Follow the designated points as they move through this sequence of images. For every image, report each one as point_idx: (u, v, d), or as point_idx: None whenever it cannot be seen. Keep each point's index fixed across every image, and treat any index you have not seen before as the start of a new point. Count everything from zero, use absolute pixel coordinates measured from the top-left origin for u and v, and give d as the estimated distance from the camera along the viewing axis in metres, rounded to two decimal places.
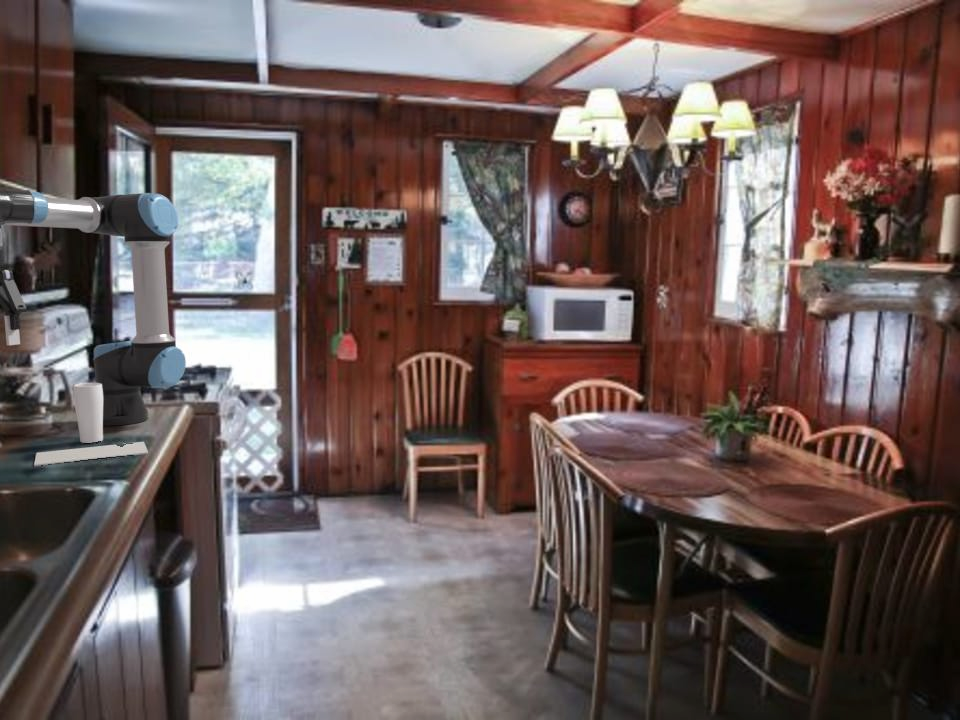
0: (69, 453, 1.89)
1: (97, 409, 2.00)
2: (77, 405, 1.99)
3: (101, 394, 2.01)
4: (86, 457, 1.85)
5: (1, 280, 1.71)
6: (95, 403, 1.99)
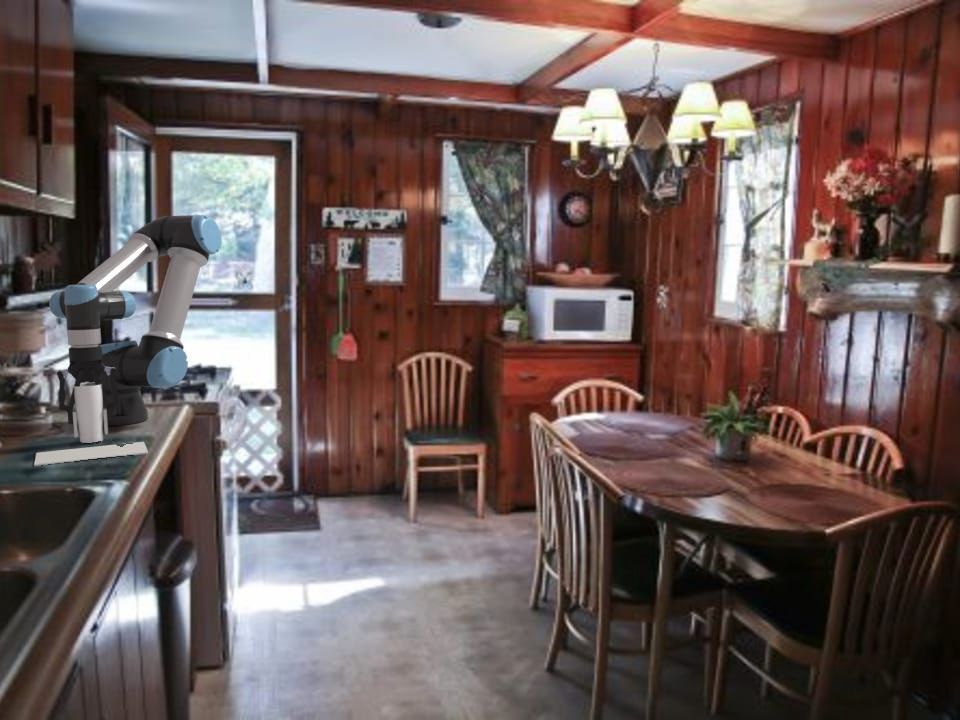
0: (69, 453, 1.89)
1: (97, 409, 2.00)
2: (77, 405, 1.99)
3: (101, 394, 2.01)
4: (86, 457, 1.85)
5: None
6: (95, 403, 1.99)
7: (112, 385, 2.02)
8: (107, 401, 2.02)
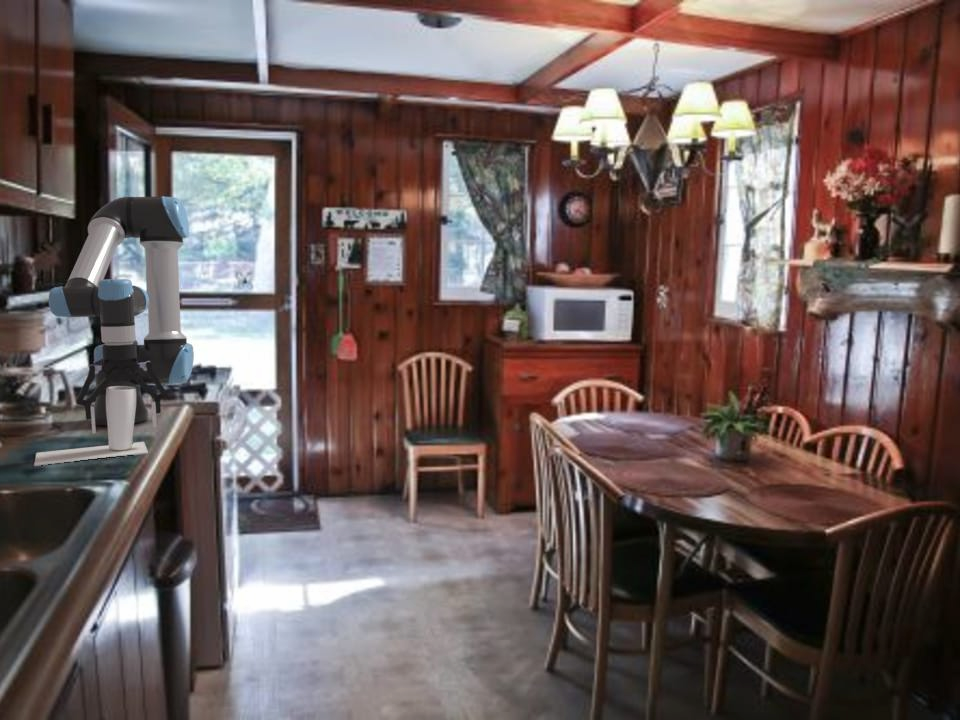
0: (69, 453, 1.89)
1: (129, 414, 1.90)
2: (109, 409, 1.89)
3: (134, 399, 1.92)
4: (86, 457, 1.85)
5: None
6: (128, 408, 1.90)
7: (154, 379, 1.93)
8: (154, 394, 1.94)
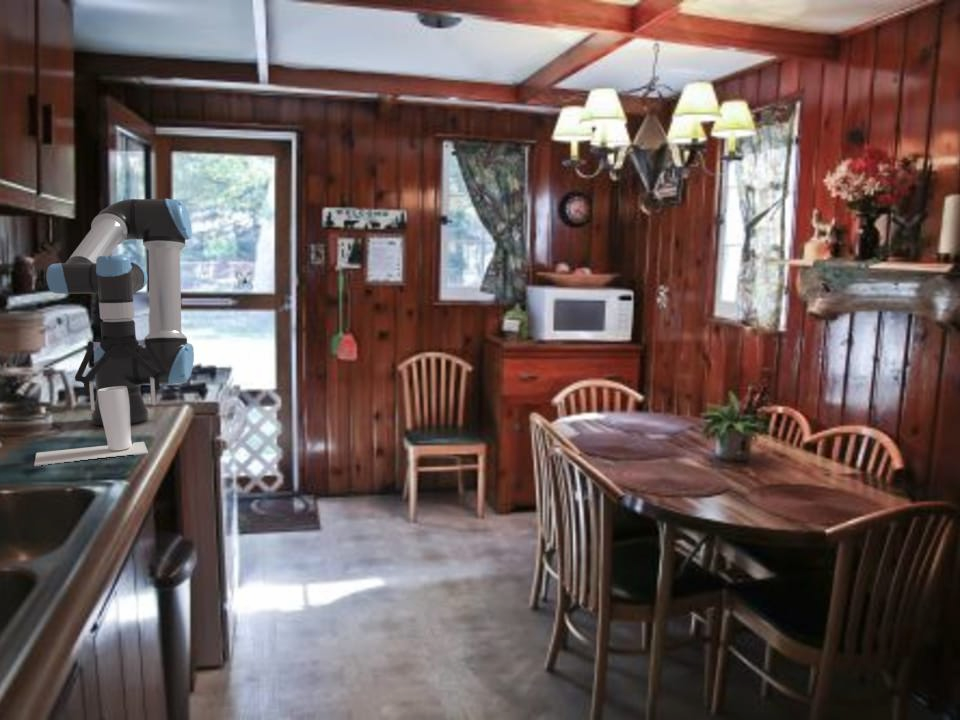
0: (69, 453, 1.89)
1: (124, 413, 1.90)
2: (103, 410, 1.89)
3: (127, 397, 1.91)
4: (86, 457, 1.85)
5: None
6: (121, 407, 1.89)
7: (152, 356, 1.93)
8: (153, 371, 1.93)
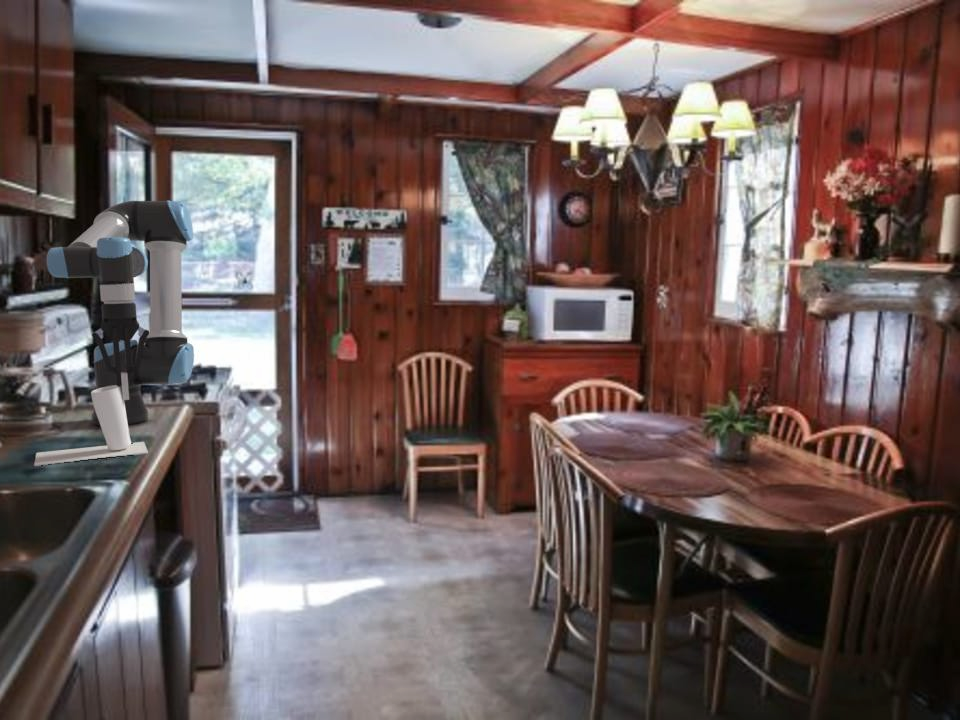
0: (69, 453, 1.89)
1: (120, 413, 1.89)
2: (98, 412, 1.88)
3: (121, 397, 1.90)
4: (86, 457, 1.85)
5: None
6: (116, 407, 1.89)
7: (140, 347, 1.91)
8: (130, 364, 1.90)
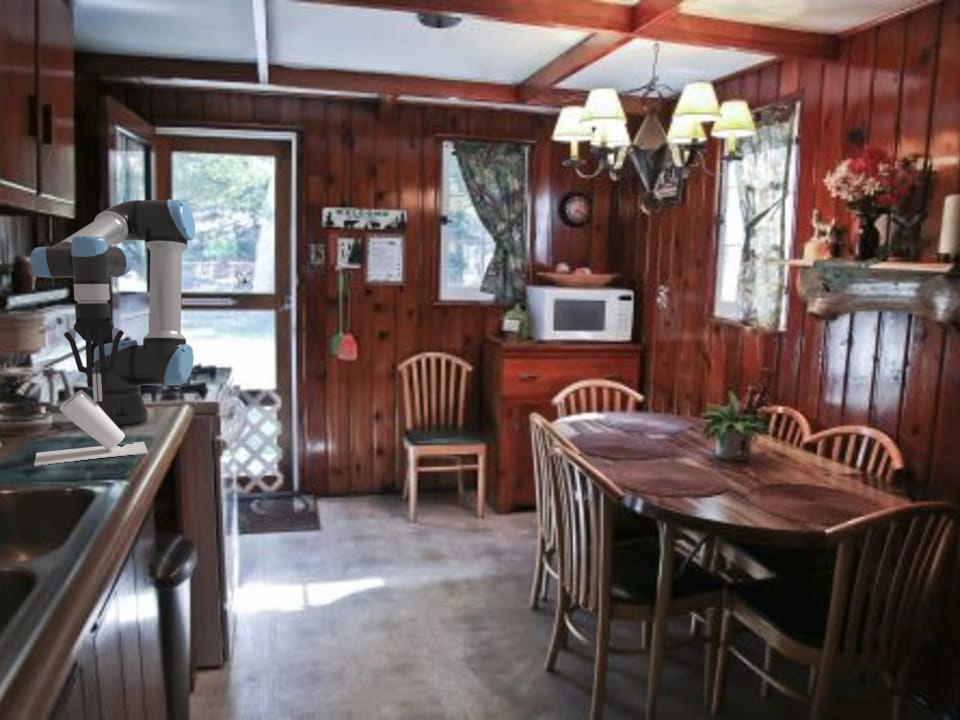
0: (69, 453, 1.89)
1: (96, 414, 1.87)
2: (76, 423, 1.86)
3: (89, 399, 1.87)
4: (86, 457, 1.85)
5: None
6: (90, 411, 1.86)
7: (114, 348, 1.88)
8: (104, 365, 1.88)
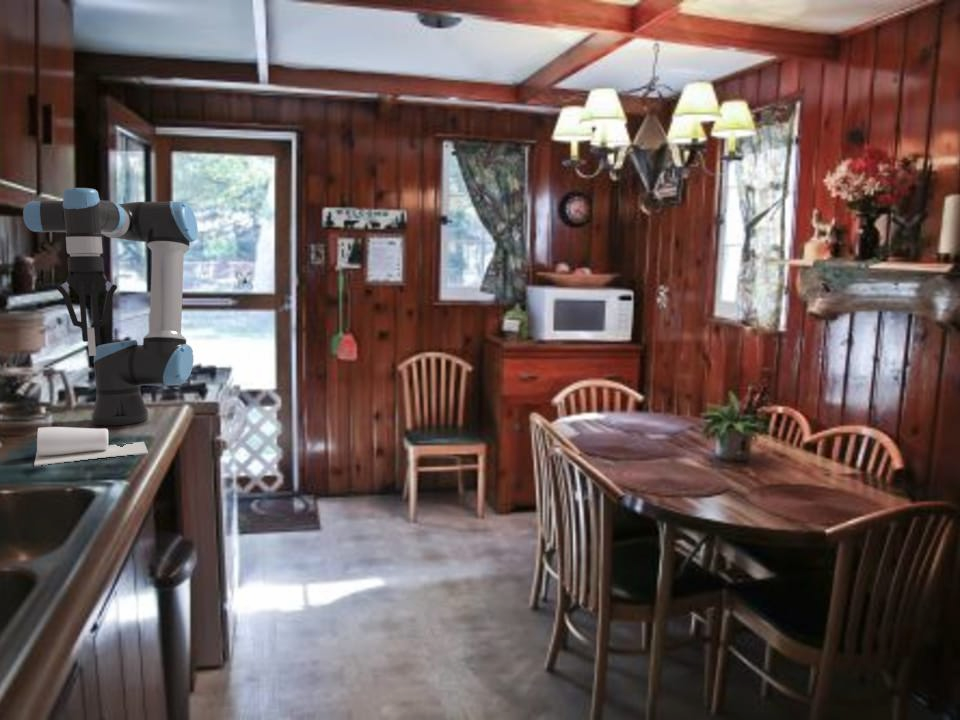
0: None
1: (67, 432, 1.86)
2: (60, 451, 1.86)
3: (50, 428, 1.86)
4: (86, 457, 1.85)
5: None
6: (59, 434, 1.85)
7: (107, 302, 1.87)
8: (97, 319, 1.86)
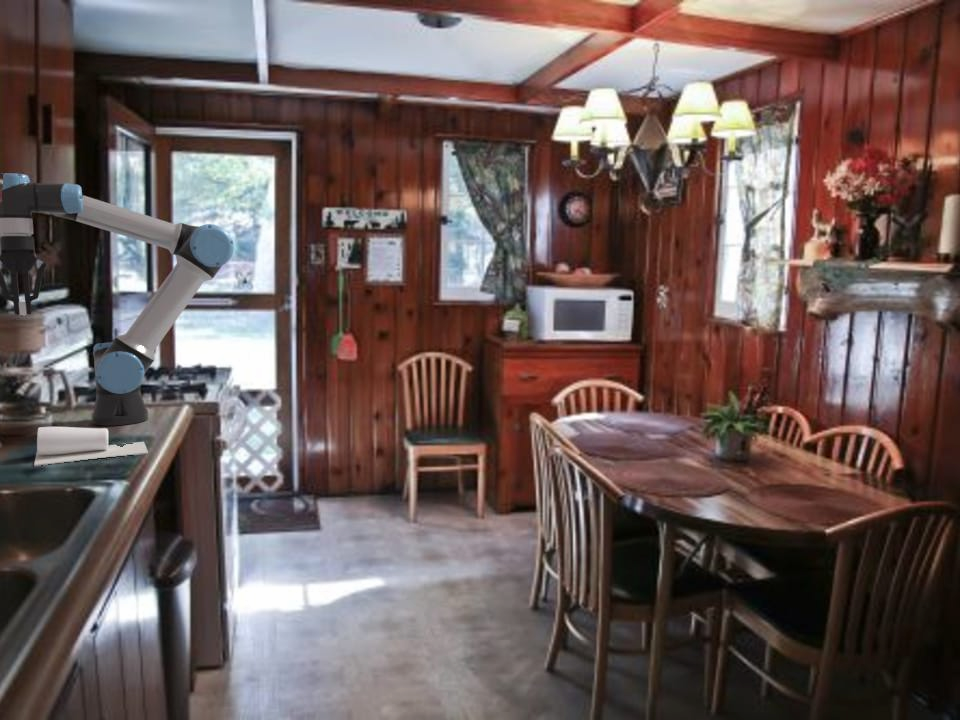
0: None
1: (67, 431, 1.87)
2: (60, 450, 1.86)
3: (50, 427, 1.86)
4: (86, 457, 1.85)
5: None
6: (59, 432, 1.86)
7: (38, 278, 2.04)
8: (28, 294, 2.03)
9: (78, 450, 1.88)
